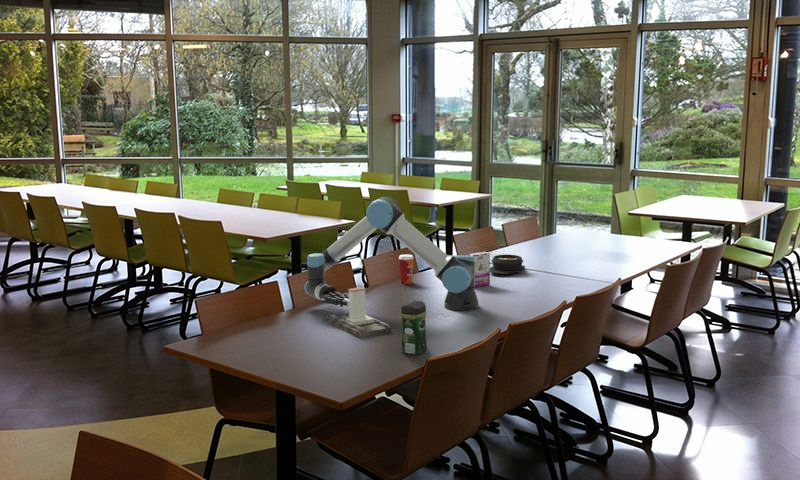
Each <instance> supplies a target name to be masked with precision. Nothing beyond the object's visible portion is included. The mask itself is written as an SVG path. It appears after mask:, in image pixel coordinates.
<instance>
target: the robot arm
mask: <svg viewBox="0 0 800 480" xmlns="http://www.w3.org/2000/svg"><path fill="white" fill-rule="evenodd" d="M377 229H380V230H381V231H382V232H383V233H385V234H386V235H392V236H394V238H395V239H397V240H398V241H399V242H400V243H402V244H403V245H404V246H405V247H406V248H408V250H409V251H411V252H412V253H413V254H414V255H416V256H417V257H418V258H419V259H420V260H421V261H422V262H424V264H426V265H428V267H429V268H431V269H432V270H433V271H434V277H436V278H437V279H438V280H439V281H440V282H441V284H442V285H443V287H444V288H445V290H447V293H446V295H445V299H444V308H446V309H448V310H452V311H463V312H464V311H472V310H475V309H478V308H479V298H478V296H477V293H476V287H475V259H474V257H473V256H466V255H461V254H460V255H453V254H452V255H451V254H450V255H449V254H446V253H445V252H444V251H443V249H441V248H439V247H438V246H437V245H436V244H435V243H434V242H433V241H431V239H429V238H428V237H426V235H424V234H423V233H422V232H421V231H420V230H419V229H417V228H416V227H415V226H414V225H413V224H412V223H410V222H409V221H408V220H407V219H406V217H405V213H404V212H403V211H401V209H400V206H399V203H398V201H397V200H396V199H394V198H393V197H391V196H388V195H387V196H381V197H379V198H378V199H374V200H372V202H371V203H370V204H369V205H368V207H367V209H366V216H364V217H363V218H362V219H361V220H359V221H358V222H357V223H356V224H354V226H353V227H351V228H350V229H348V230H347V232H345V233H344V234H343V235H342V236H340V237H339V238H338V239H337V240H335V241H334V242H333V243H332V244H331V245H329V247H328V248H327V247H326V249H325V250H324V251H322V253H310V254H308V255H307V256H306V257H307V258H306V259H307V261H306V266H307V281H306V282H305V284H304V287H303V288H304V291H305V293H306V294H307V295H308V296H310V297H312V298H315V299H316V300H319V301H320V302H321V303H325V304H328V305H329V304H330V305H334V306H340V307H341V308H343V307H347V308H349V291H348V292H347V291H346V292H344V293H342V292H339V291H338V290H337V288H336V287H334V286H332V285H329V284H327V283H326V280H325V279H326V275H325V274H326V271H328V270H329V269H330V268H332V267H333V266H334V265H335V264H336V263H337V262H339V260H341V259H342V258H343V257H345V256H346V255H347V254H349V252H351V251H352V250H353V249H354V248H355V247H357V246H358V245H359V244H361V243H362V242H363V241H364V240H365V239H366V238H368V237H369V236H370V235H371V234H372V233H374V232H375V231H376V230H377Z"/></svg>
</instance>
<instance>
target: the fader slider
mask: <svg viewBox="0 0 800 480" xmlns="http://www.w3.org/2000/svg"><path fill="white" fill-rule="evenodd" d="M347 291H348V295H349V307H348V312H349V318H346V321H348V322H350V323H353V324H355V325H362V324H367V323H373V322H374V319H373V318H374V317H372V316H370V315H368V314H367V313H366V288H365V287H363V286H360V287H359V286H358V287H353V288H348V290H347ZM367 315H368V316H367ZM369 316H370V317H369ZM371 317H372V318H371Z"/></svg>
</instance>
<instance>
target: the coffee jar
mask: <svg viewBox="0 0 800 480" xmlns="http://www.w3.org/2000/svg"><path fill="white" fill-rule="evenodd" d="M426 307H427V306H426V303H424V301H420V300H413V301H410V302H408V303H405V304H403V305H401V307H400V316H401V324H402V325H401V329H402V330H401V352H402V353H403V354H405V355H419V354H421V353H424V352H425V351H426V350H427V348H428V346H427V343H428V342H427V333H426V332H427V329H426V316H427V315H426V314H427V309H426Z"/></svg>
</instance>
